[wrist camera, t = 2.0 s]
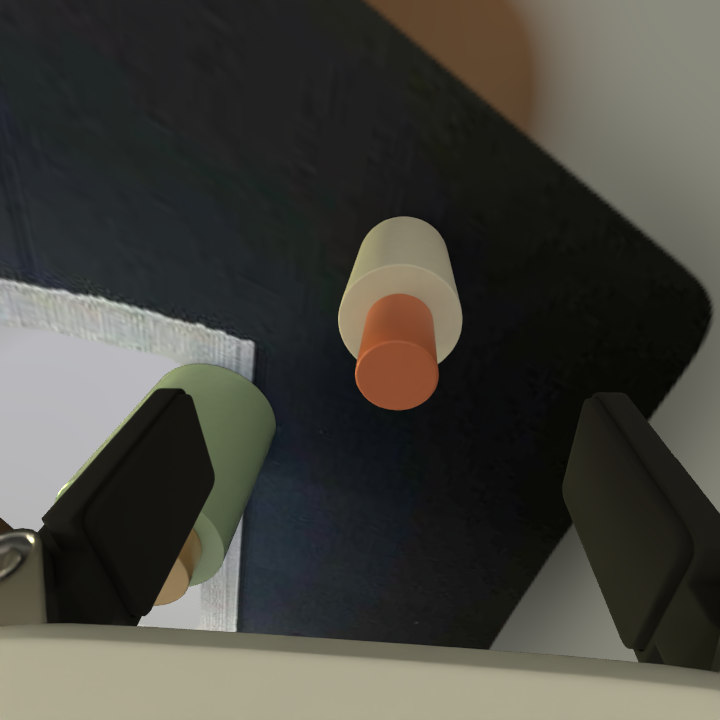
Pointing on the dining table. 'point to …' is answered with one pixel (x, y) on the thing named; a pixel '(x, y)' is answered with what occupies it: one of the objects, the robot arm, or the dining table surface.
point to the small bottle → (400, 312)
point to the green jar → (215, 464)
